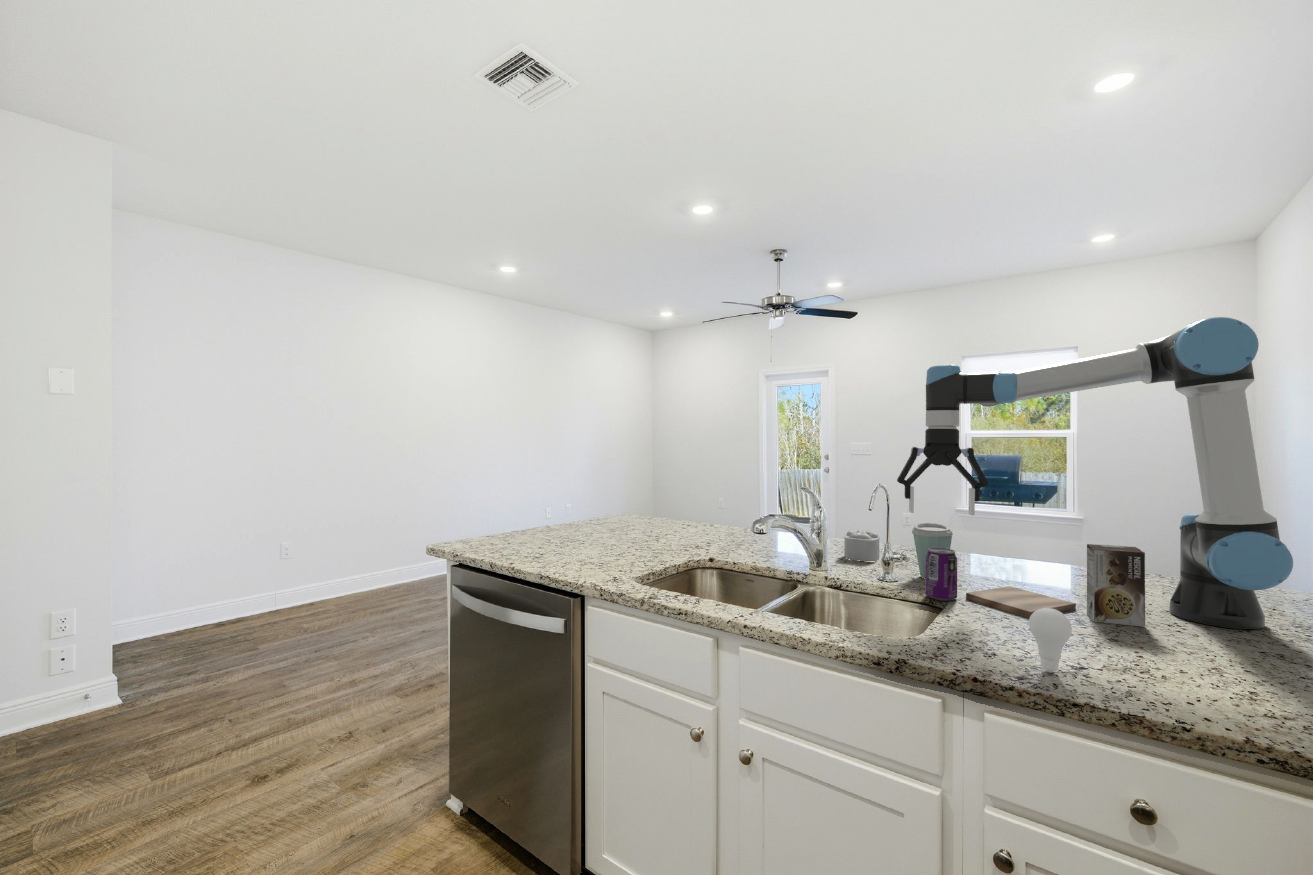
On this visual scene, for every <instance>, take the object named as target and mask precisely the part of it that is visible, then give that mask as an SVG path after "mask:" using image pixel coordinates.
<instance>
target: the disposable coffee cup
mask: <svg viewBox="0 0 1313 875" xmlns="http://www.w3.org/2000/svg"><path fill="white" fill-rule="evenodd" d="M911 534H913V540H914V548H915V553H916V558H917V563H918V569H919V574H920V577H923V578H925V576H926V554H927V553H928V548H946V549H951V545H952V538H953V536H954V534H953V530H952V529H951V527H950V526H948V525H946V524H942V523H936V522H919V523H916V524H914V525H913V528H912V530H911ZM923 578H922V579H923Z"/></svg>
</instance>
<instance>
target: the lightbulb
mask: <svg viewBox="0 0 1313 875" xmlns="http://www.w3.org/2000/svg"><path fill="white" fill-rule="evenodd" d="M1028 619H1029V620H1028V627H1029V631H1030V633H1031V635H1032V636H1033V638H1034V640H1035V642H1036V644H1037V649H1038V655H1039V657H1040V658H1039V662H1040V667H1041V668H1042V669H1043V670H1045V672H1046V673H1050V674H1052V673H1054V672H1057V671H1058V670H1059V666H1060V665H1059V664H1060V659H1061V657H1062V652H1063V648H1064V646H1065V645H1066V643H1067V642H1068V641H1069V639H1070V638H1071V635H1072V633H1073V629H1072V624H1071V623H1072V622H1070V620H1069V618H1068V617H1067V616H1066V615H1065V613H1064V612H1062V613H1061V612H1060V611H1058V610H1055V609H1052V608H1041V609H1038V610H1036V611H1035V612H1034V613H1033V614H1032V615H1031V616H1030V618H1028Z"/></svg>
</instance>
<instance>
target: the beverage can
mask: <svg viewBox="0 0 1313 875" xmlns="http://www.w3.org/2000/svg"><path fill="white" fill-rule="evenodd" d="M924 580H925V581H924V582H925V584H924V585H925V589H924V590H925V591H924V594H925V595H926V596H928V597H929V598H930V599H932V600H936V601H941V602H950V601H952V600H956V599H957V598H958V557H957V555H956V550H954V549H951V548H950V549H946V548H928V553H927V554H926V576H925V579H924Z"/></svg>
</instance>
